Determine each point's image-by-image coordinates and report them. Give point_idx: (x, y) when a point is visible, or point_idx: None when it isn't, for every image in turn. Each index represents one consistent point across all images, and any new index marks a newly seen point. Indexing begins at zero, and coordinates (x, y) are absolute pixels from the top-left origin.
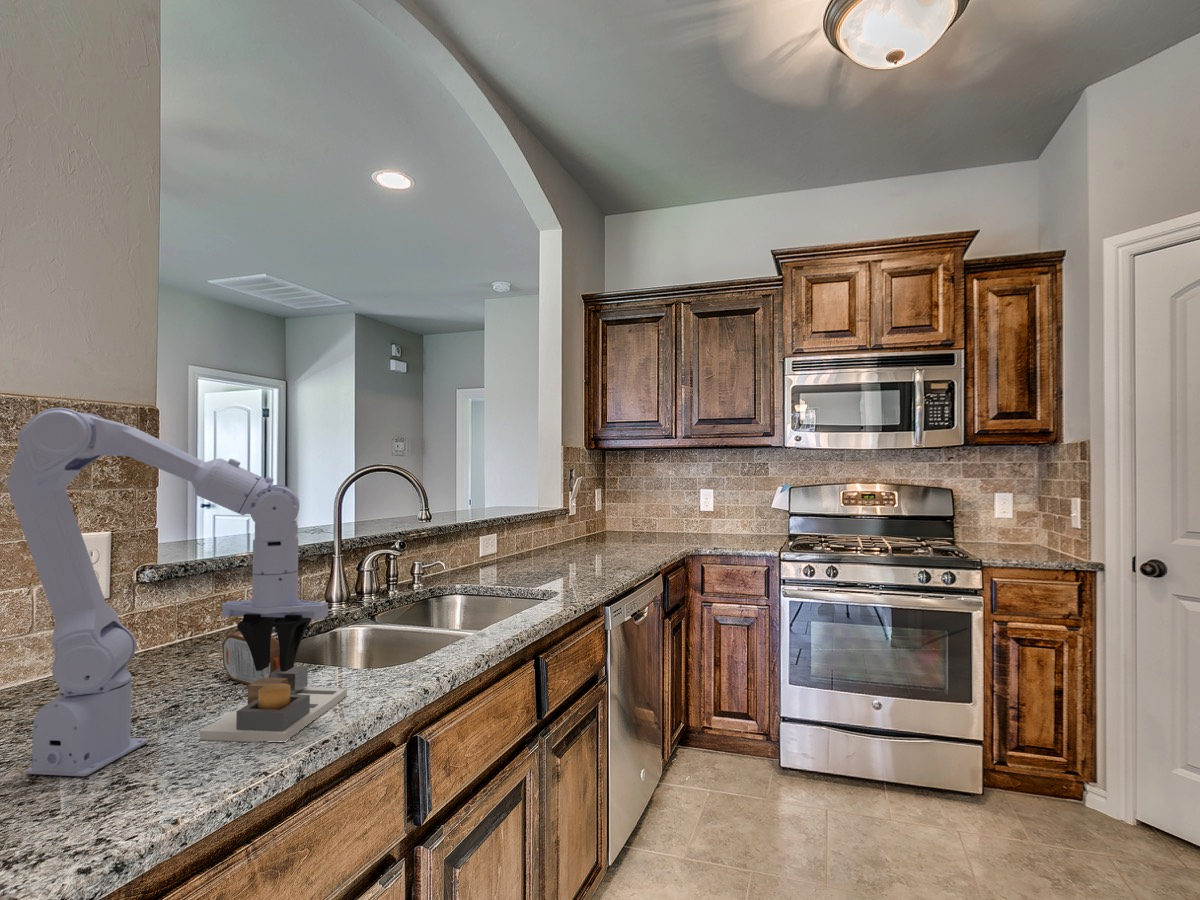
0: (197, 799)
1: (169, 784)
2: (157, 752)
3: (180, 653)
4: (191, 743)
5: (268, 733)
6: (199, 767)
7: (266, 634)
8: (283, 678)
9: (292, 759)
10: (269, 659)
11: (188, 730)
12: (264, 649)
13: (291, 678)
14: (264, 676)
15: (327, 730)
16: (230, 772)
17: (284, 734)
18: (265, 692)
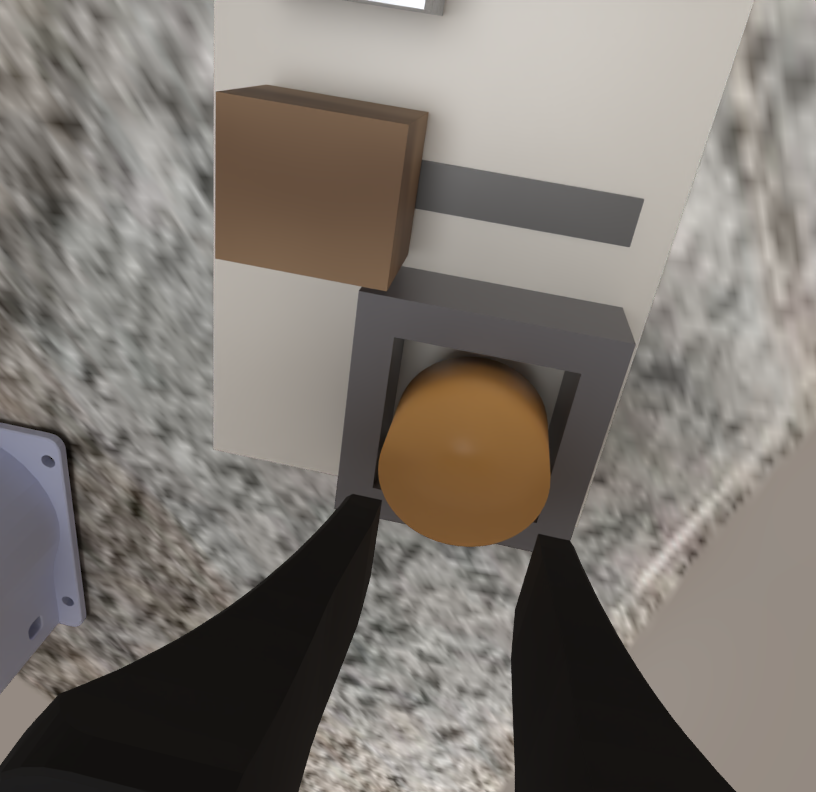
0: (457, 755)
1: (337, 682)
2: (154, 502)
3: None
4: (217, 453)
5: None
6: (360, 614)
7: (300, 720)
8: (379, 126)
9: (645, 618)
10: (372, 524)
11: (118, 336)
12: (335, 632)
13: (400, 6)
14: None
15: (733, 410)
16: (473, 656)
17: (576, 526)
18: (438, 528)
